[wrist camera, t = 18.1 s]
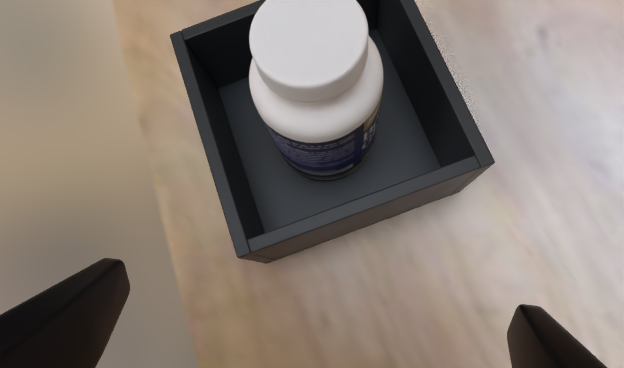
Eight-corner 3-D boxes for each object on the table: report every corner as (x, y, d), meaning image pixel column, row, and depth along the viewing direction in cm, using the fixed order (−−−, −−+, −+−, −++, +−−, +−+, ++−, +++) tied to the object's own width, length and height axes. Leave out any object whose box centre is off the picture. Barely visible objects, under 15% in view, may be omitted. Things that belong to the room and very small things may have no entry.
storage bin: (265, 263, 22) (237, 258, 17) (209, 88, 25) (169, 34, 19) (460, 191, 22) (495, 162, 17) (381, 22, 25) (389, -50, 19)
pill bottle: (381, 176, 22) (402, 97, 12) (282, 187, 22) (230, 119, 13) (368, 85, 23) (379, -50, 14) (275, 97, 24) (223, -26, 14)
